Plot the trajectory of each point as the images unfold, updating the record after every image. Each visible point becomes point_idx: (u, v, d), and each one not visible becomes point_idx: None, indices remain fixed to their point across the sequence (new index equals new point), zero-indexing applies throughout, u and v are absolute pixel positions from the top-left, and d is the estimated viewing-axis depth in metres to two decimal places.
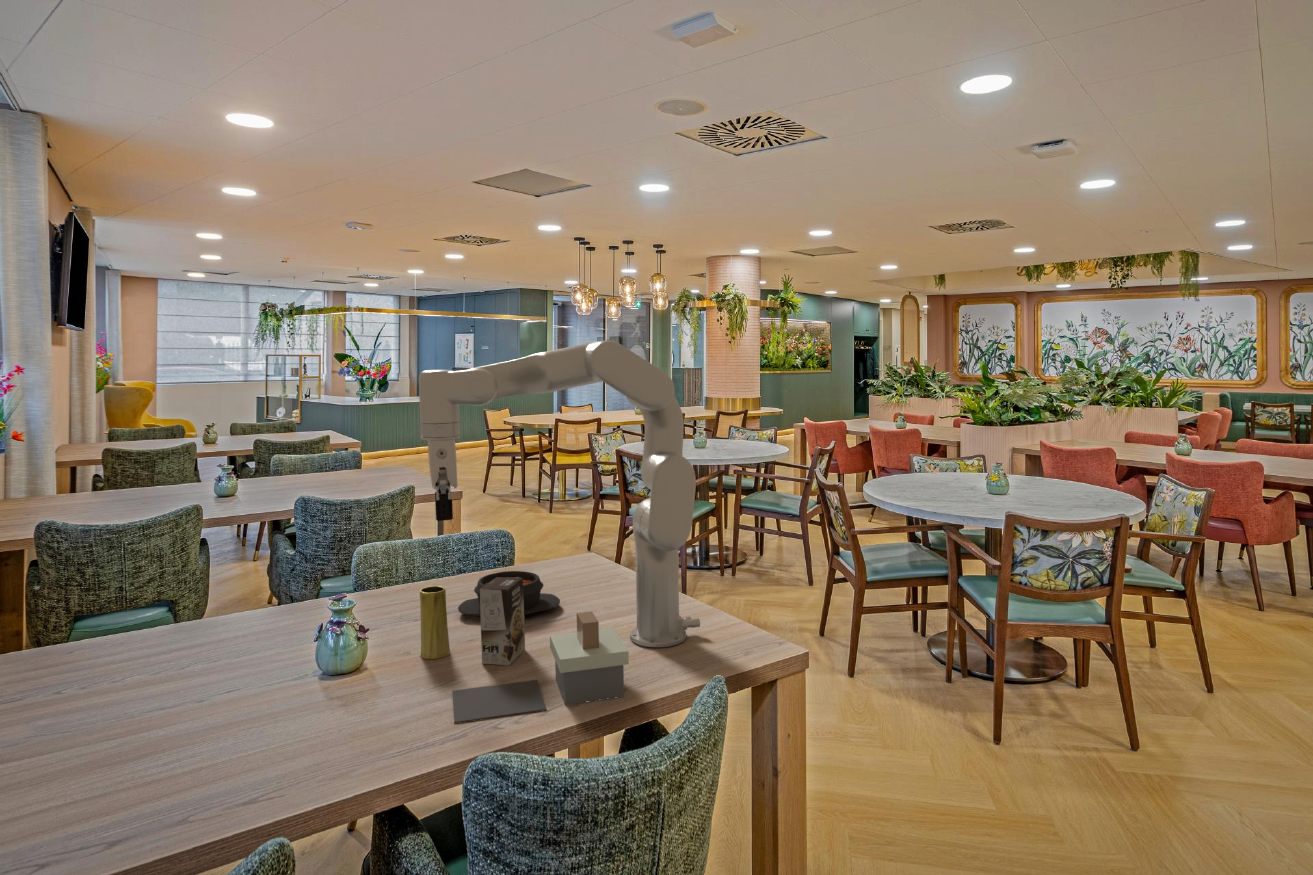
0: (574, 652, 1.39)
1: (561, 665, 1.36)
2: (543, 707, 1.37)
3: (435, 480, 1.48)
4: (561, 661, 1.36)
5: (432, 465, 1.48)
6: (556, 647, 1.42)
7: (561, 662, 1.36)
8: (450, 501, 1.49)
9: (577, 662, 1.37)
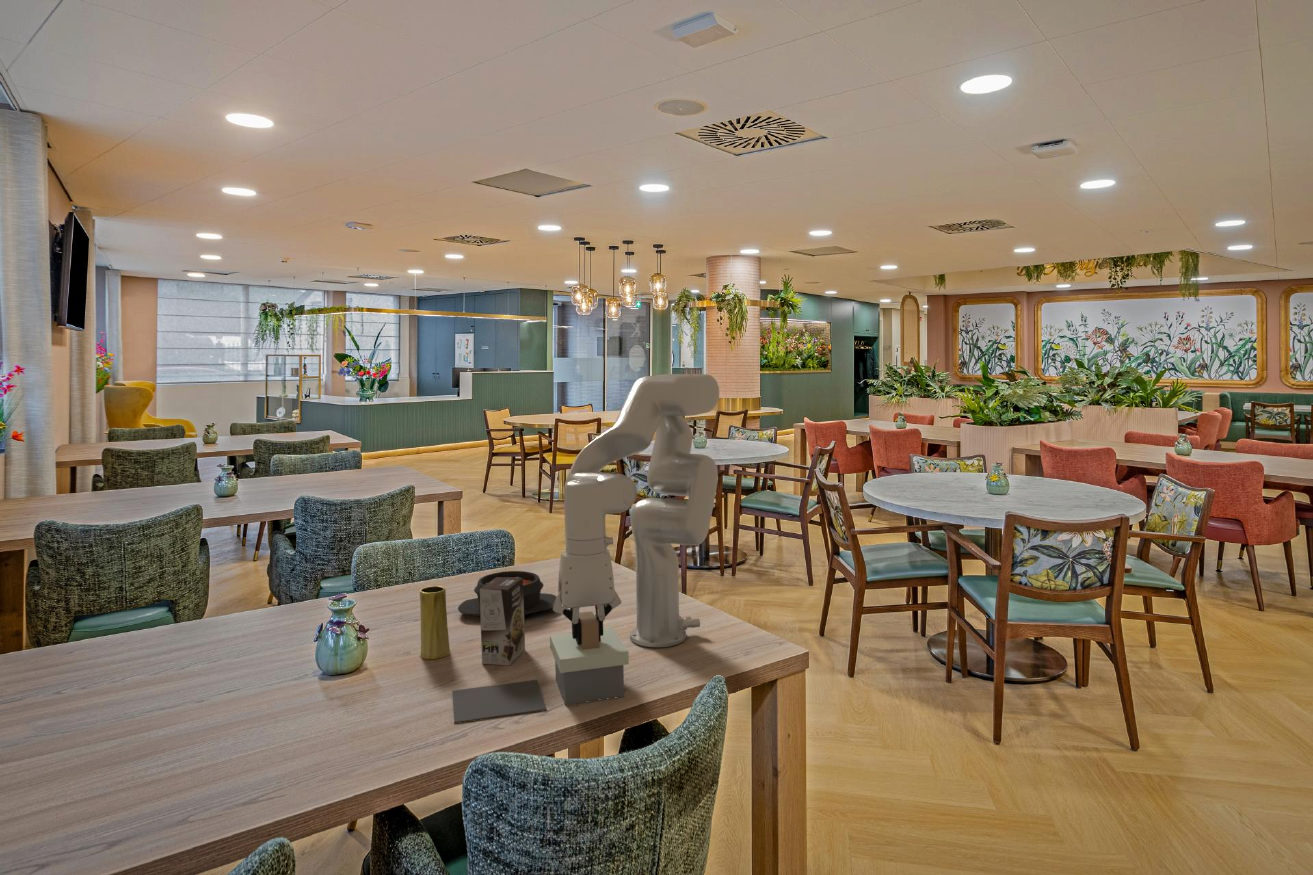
0: (574, 652, 1.39)
1: (561, 665, 1.36)
2: (543, 707, 1.37)
3: None
4: (561, 661, 1.36)
5: (613, 578, 1.42)
6: (556, 647, 1.42)
7: (561, 662, 1.36)
8: None
9: (577, 662, 1.37)
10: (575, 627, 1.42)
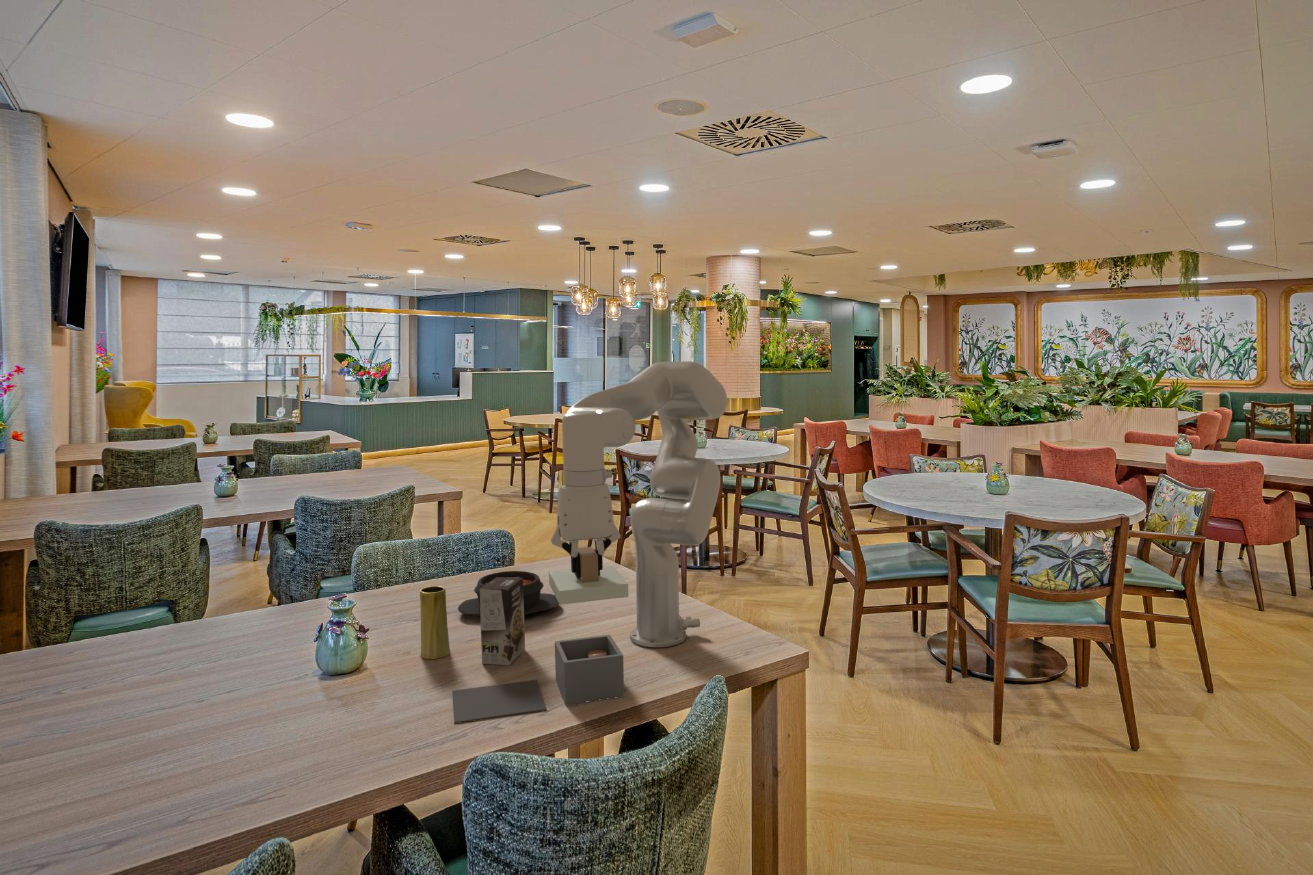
0: (573, 585, 1.38)
1: (560, 596, 1.35)
2: (543, 707, 1.37)
3: None
4: (560, 592, 1.35)
5: (612, 511, 1.41)
6: (555, 581, 1.41)
7: (560, 593, 1.35)
8: None
9: (576, 594, 1.36)
10: (574, 561, 1.41)
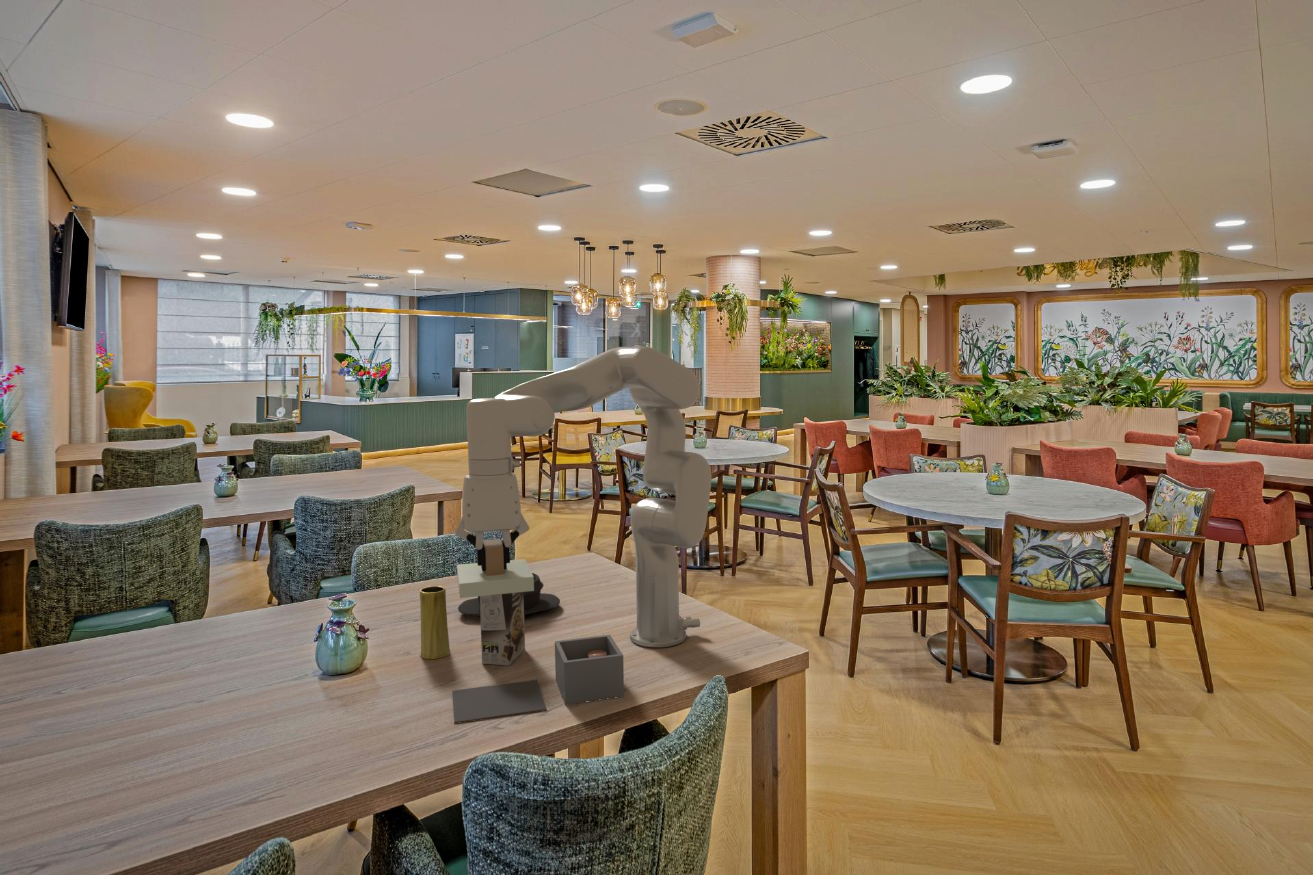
0: (476, 578, 1.33)
1: (460, 589, 1.30)
2: (543, 707, 1.37)
3: None
4: (460, 585, 1.30)
5: (519, 501, 1.36)
6: (459, 574, 1.35)
7: (460, 586, 1.30)
8: None
9: (478, 587, 1.30)
10: (479, 553, 1.35)
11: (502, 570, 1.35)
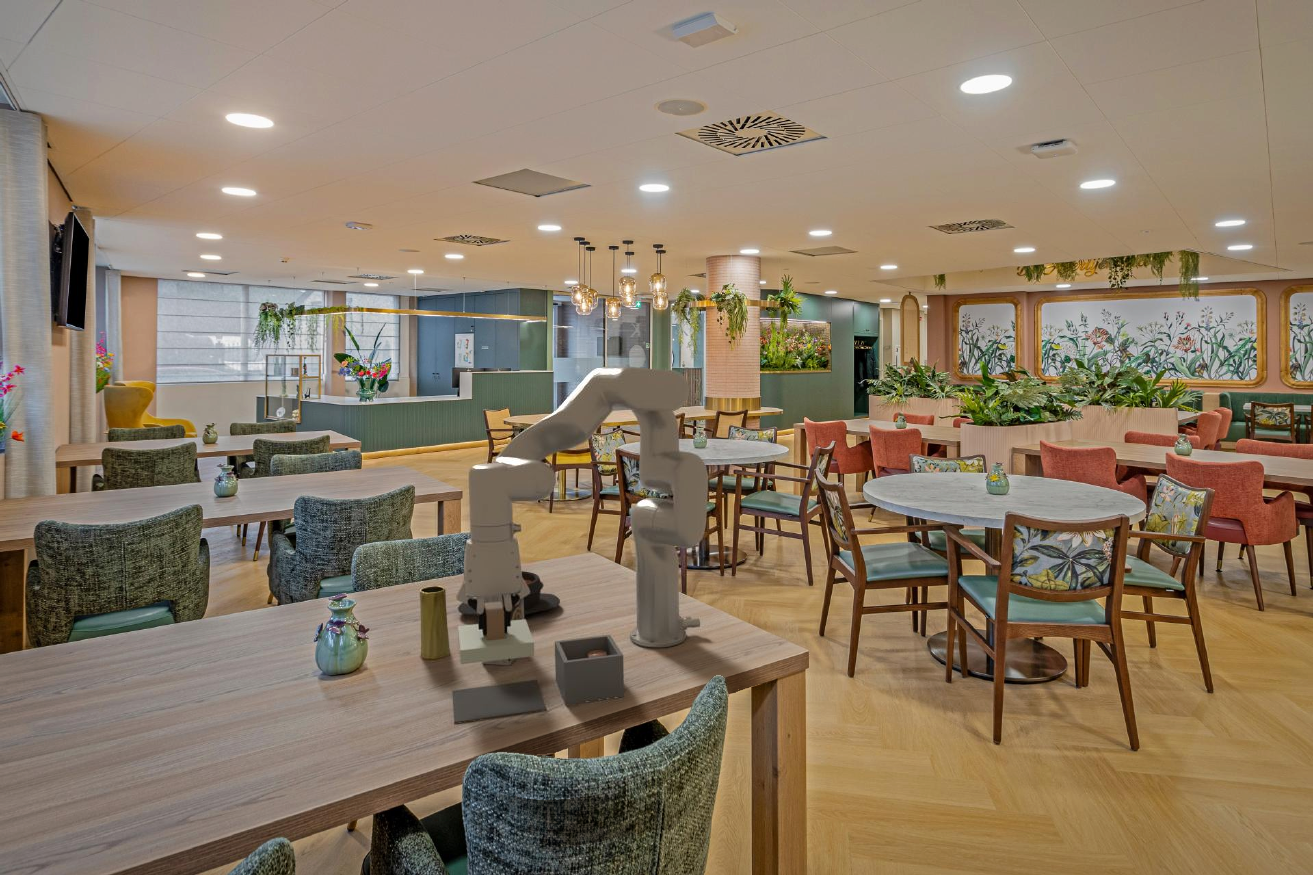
0: (477, 643, 1.34)
1: (461, 656, 1.31)
2: (543, 707, 1.37)
3: None
4: (461, 652, 1.31)
5: (520, 566, 1.37)
6: (460, 638, 1.36)
7: (461, 653, 1.31)
8: None
9: (479, 653, 1.31)
10: (480, 617, 1.37)
11: (503, 635, 1.36)
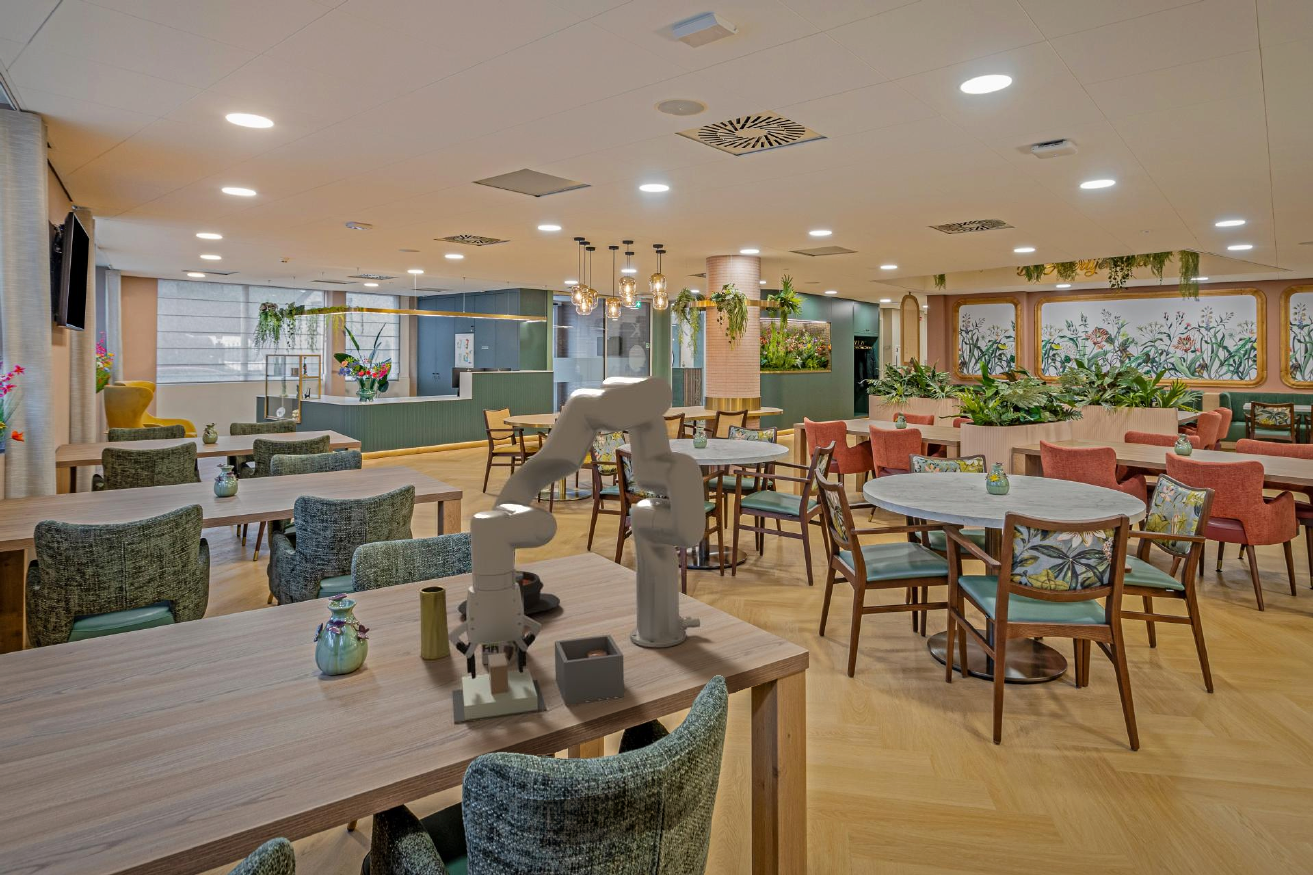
0: (481, 697, 1.35)
1: (465, 712, 1.32)
2: (543, 707, 1.37)
3: None
4: (465, 707, 1.32)
5: (522, 613, 1.38)
6: (464, 691, 1.38)
7: (465, 709, 1.32)
8: None
9: (483, 708, 1.33)
10: (469, 661, 1.37)
11: (506, 688, 1.37)
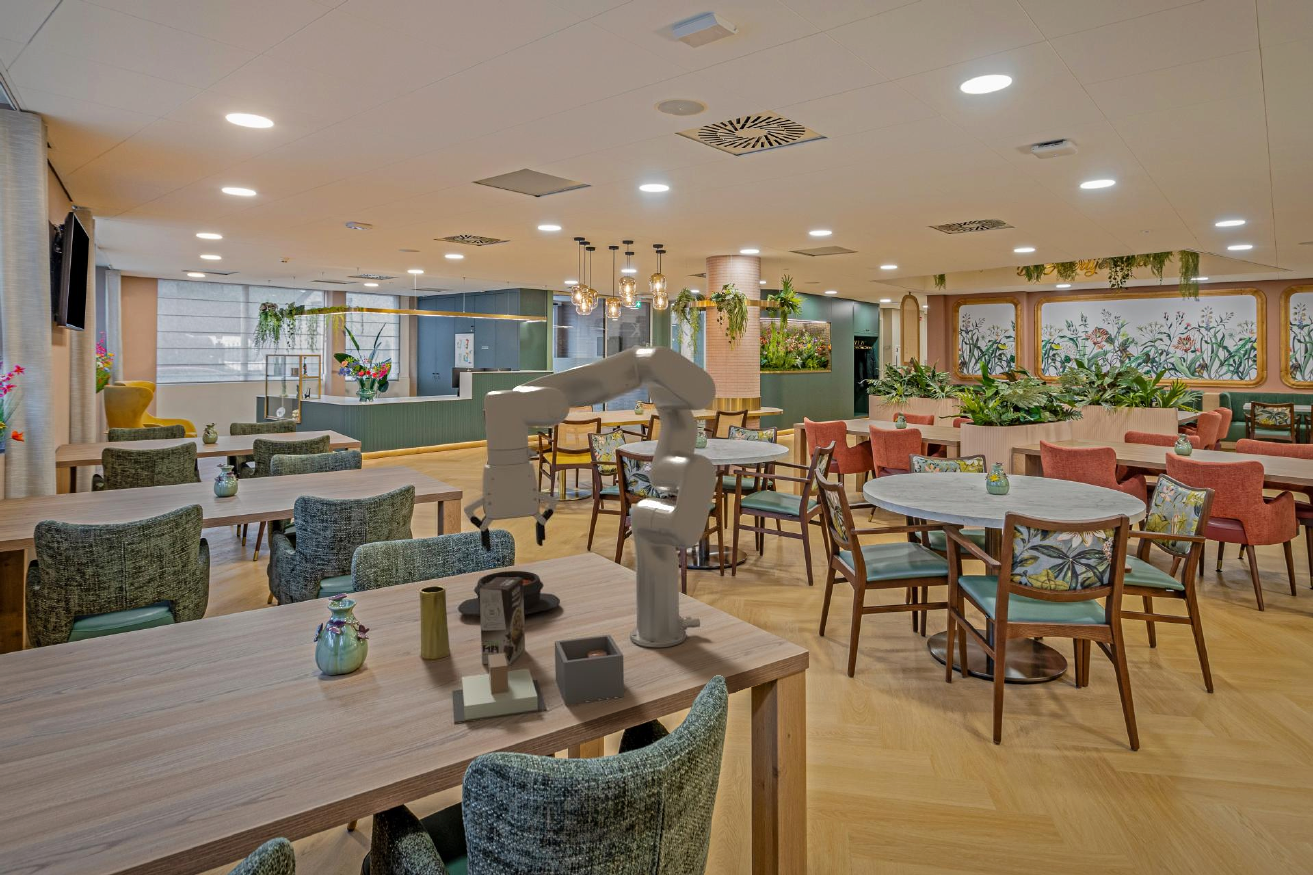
0: (481, 697, 1.35)
1: (465, 712, 1.32)
2: (543, 707, 1.37)
3: None
4: (465, 707, 1.32)
5: (537, 489, 1.41)
6: (464, 691, 1.38)
7: (465, 709, 1.32)
8: None
9: (483, 708, 1.33)
10: (483, 535, 1.40)
11: (506, 688, 1.37)
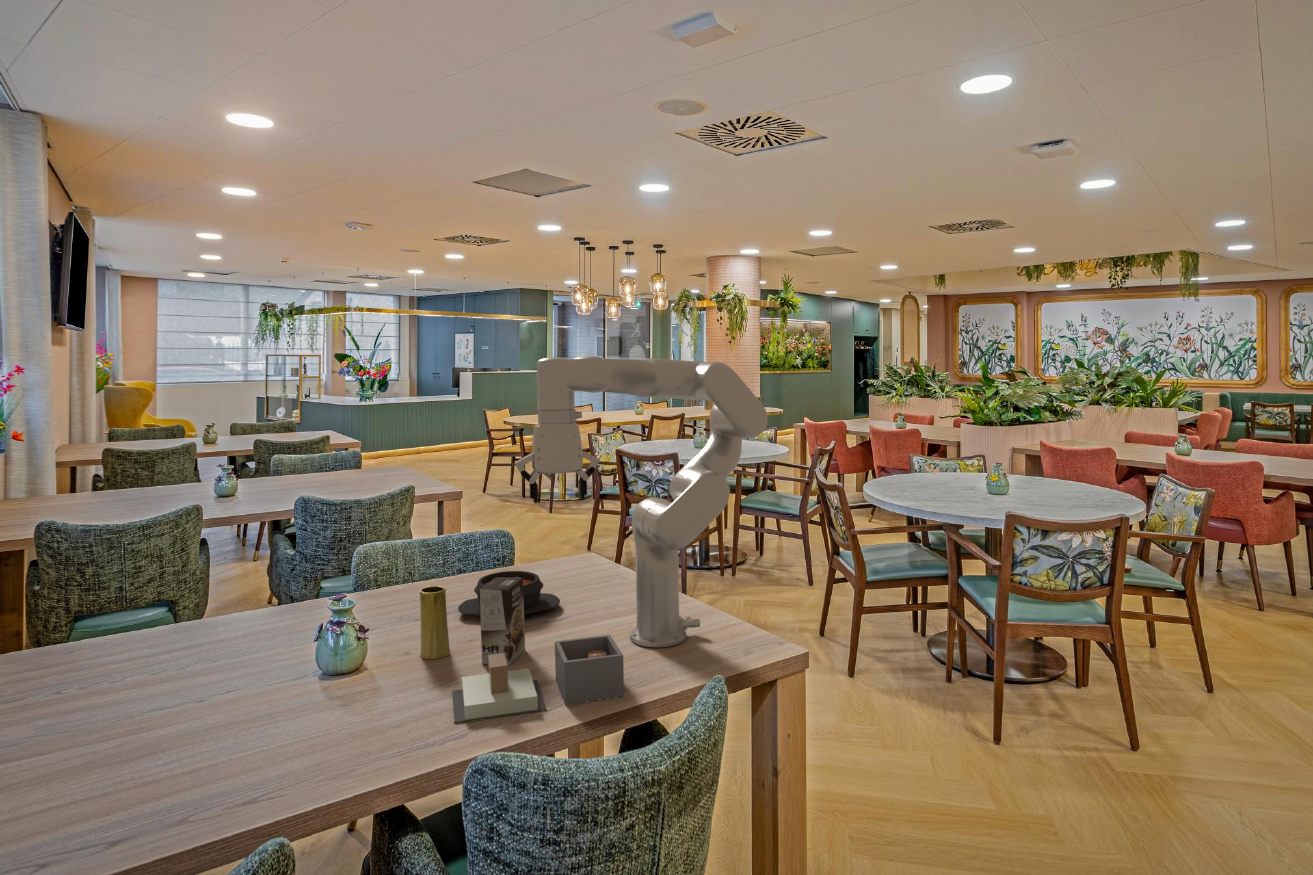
0: (481, 697, 1.35)
1: (465, 712, 1.32)
2: (543, 707, 1.37)
3: (582, 461, 1.57)
4: (465, 707, 1.32)
5: (581, 447, 1.56)
6: (464, 691, 1.38)
7: (465, 709, 1.32)
8: None
9: (483, 708, 1.33)
10: (532, 487, 1.55)
11: (506, 688, 1.37)
